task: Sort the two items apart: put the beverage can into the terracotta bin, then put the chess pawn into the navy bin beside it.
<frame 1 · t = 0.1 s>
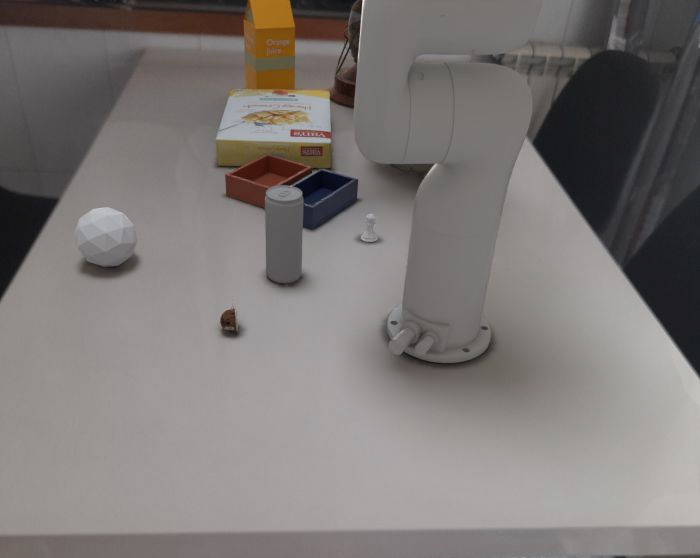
cereal box: (277, 141, 137), on the table
chocolate: (230, 330, 86), on the table
geometric ball: (110, 263, 97), on the table
terracotta bin: (269, 191, 118), on the table
chess pawn: (369, 240, 107), on the table
navy bin: (316, 208, 114), on the table
bowl: (420, 169, 129), on the table
lantern: (369, 96, 161), on the table
orange juice: (270, 94, 159), on the table
beverage can: (284, 277, 97), on the table
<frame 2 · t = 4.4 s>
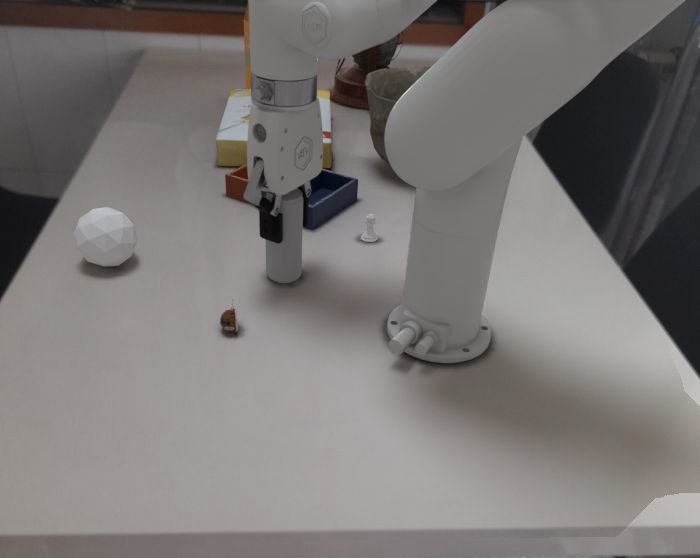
hand: (284, 230, 93), 7 cm above the table, tool pointing down, fingers closed on beverage can, 4 cm apart
beverage can: (284, 277, 97), on the table, touching gripper
everything else where it was.
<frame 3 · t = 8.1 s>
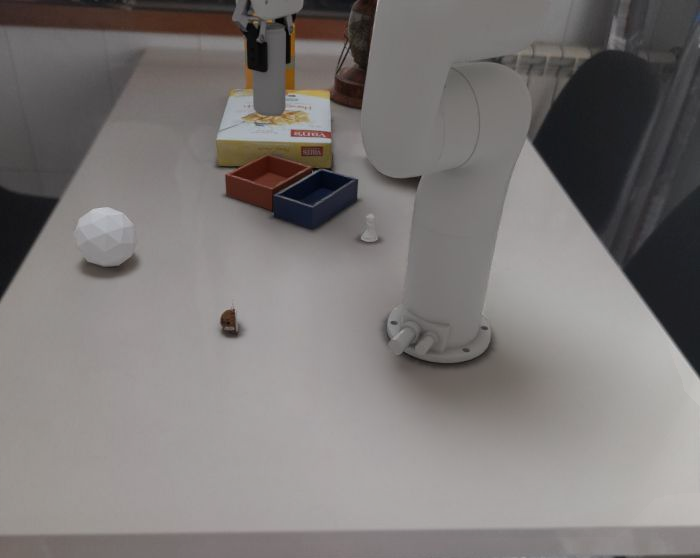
hand: (269, 64, 103), 21 cm above the table, tool pointing down, fingers closed on beverage can, 4 cm apart
beverage can: (269, 112, 108), point 14 cm above the table, touching gripper
everything else where it was.
when the fingers open (7 cm above the table, at t = 11.6 s): beverage can stays where it is, resting on terracotta bin.
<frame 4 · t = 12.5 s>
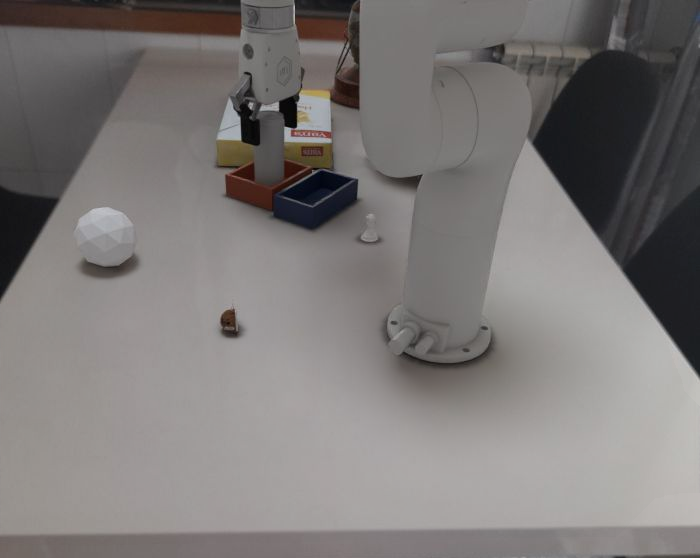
hand: (270, 135, 112), 10 cm above the table, tool pointing down, fingers open, 9 cm apart
beverage can: (269, 189, 118), resting on terracotta bin
everything else where it was.
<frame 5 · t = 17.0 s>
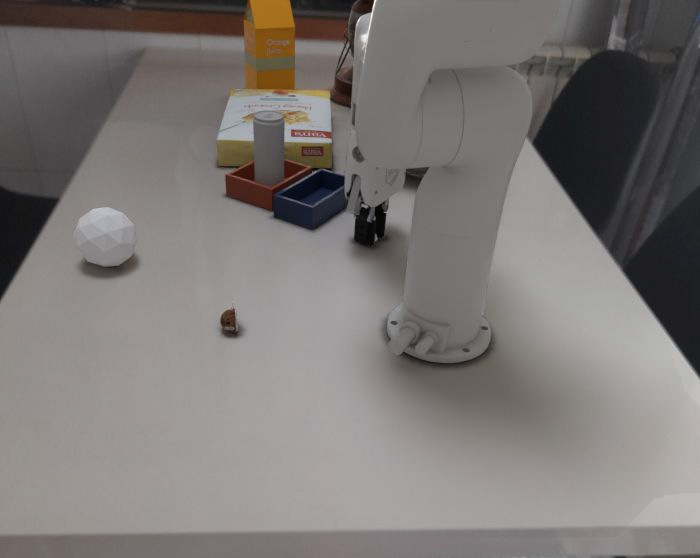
hand: (369, 238, 106), 0 cm above the table, tool pointing down, fingers closed on chess pawn, 2 cm apart
chess pawn: (369, 240, 107), on the table, touching gripper
everything else where it was.
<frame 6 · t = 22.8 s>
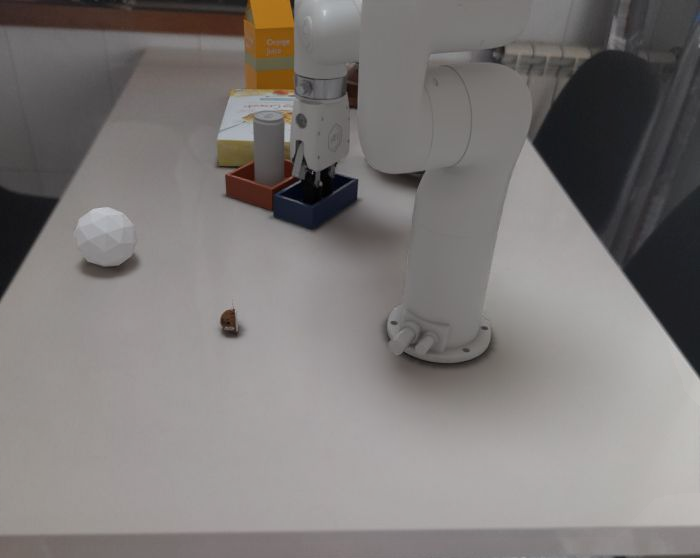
hand: (317, 203, 113), 1 cm above the table, tool pointing down, fingers closed on chess pawn, 2 cm apart
chess pawn: (317, 205, 113), resting on navy bin, touching gripper
everything else where it was.
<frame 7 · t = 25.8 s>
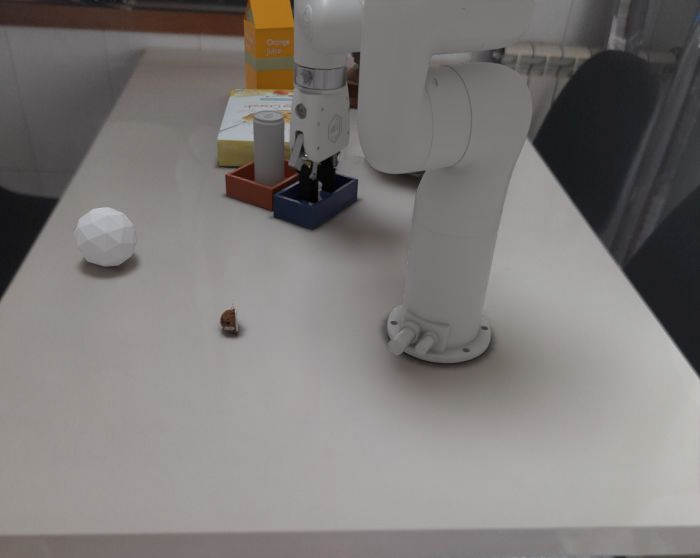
hand: (316, 194, 112), 2 cm above the table, tool pointing down, fingers open, 4 cm apart
chess pawn: (316, 206, 113), resting on navy bin
everything else where it was.
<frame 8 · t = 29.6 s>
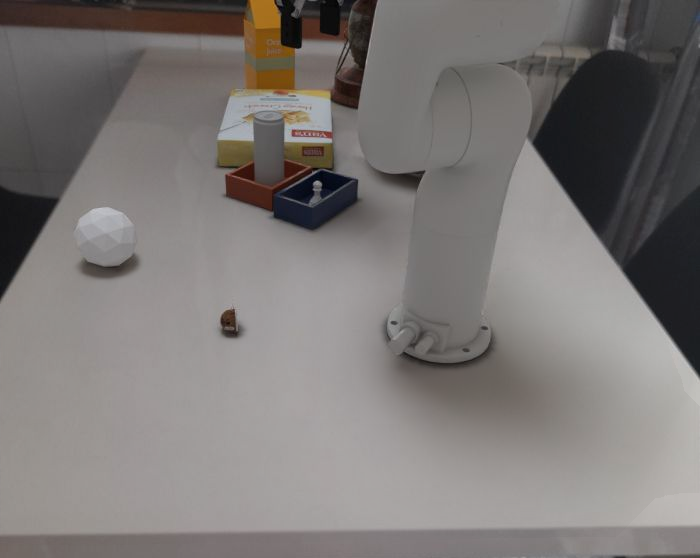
hand: (311, 40, 102), 24 cm above the table, tool pointing down, fingers open, 9 cm apart
nothing on the table moved.
at the end: beverage can inside the target area in the terracotta bin (0.0 cm from its centre), point 0.4 cm above the terracotta bin's base; chess pawn inside the target area in the navy bin (0.3 cm from its centre), point 0.4 cm above the navy bin's base; beverage can tilted 0° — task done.
